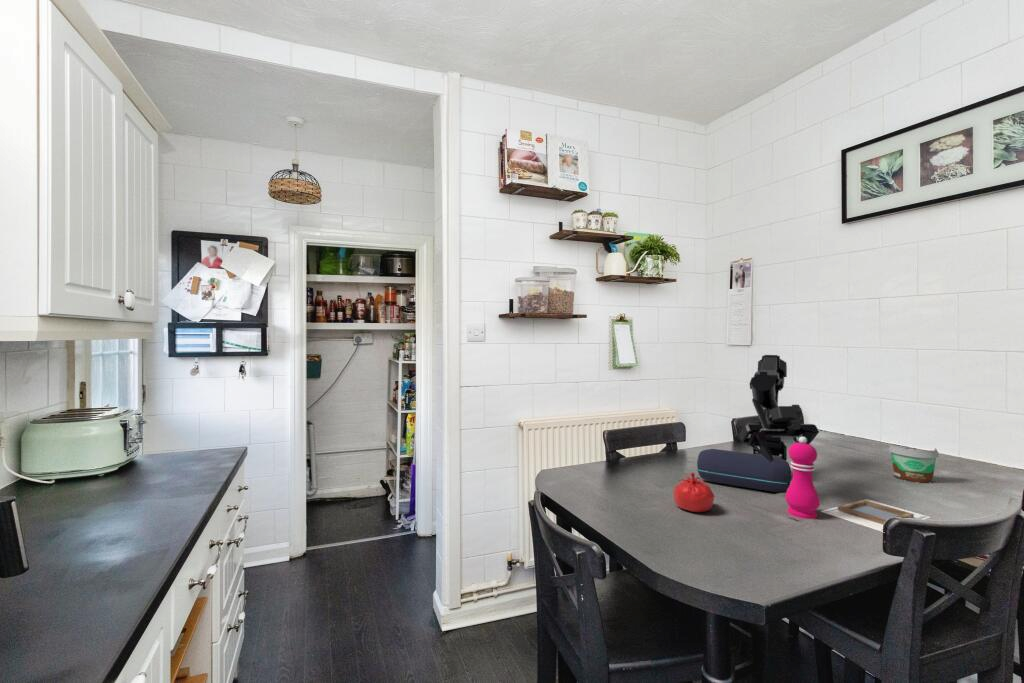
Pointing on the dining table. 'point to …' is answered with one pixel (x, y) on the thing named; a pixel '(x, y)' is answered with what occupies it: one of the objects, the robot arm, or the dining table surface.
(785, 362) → the robot arm
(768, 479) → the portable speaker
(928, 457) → the food container
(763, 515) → the dining table surface
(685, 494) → the pomegranate
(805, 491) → the pepper mill
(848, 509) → the walnut socket
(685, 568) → the dining table surface
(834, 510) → the picture frame
